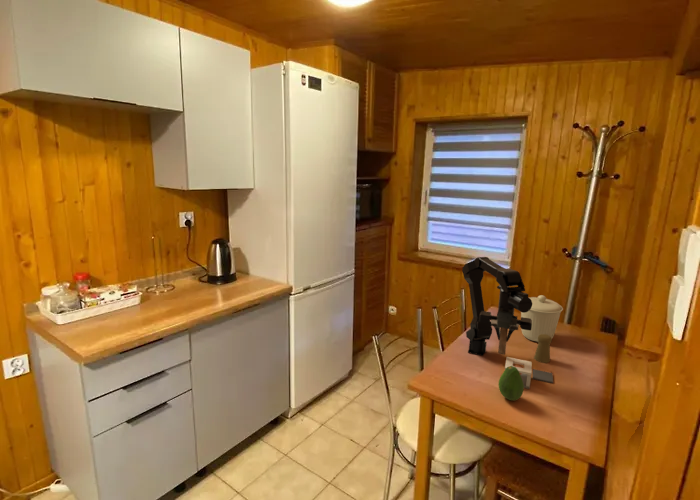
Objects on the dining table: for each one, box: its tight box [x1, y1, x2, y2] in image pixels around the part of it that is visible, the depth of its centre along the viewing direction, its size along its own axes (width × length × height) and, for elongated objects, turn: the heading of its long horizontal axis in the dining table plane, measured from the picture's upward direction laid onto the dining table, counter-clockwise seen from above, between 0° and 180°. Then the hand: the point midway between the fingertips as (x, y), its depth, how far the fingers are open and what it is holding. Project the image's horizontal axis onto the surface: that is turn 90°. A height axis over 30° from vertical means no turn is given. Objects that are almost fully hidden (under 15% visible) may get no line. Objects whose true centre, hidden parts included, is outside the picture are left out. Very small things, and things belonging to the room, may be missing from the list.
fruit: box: [498, 365, 525, 401], centre depth 136 cm, size 8×8×12 cm
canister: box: [520, 294, 564, 343], centre depth 182 cm, size 18×18×21 cm
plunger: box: [513, 364, 524, 375], centre depth 148 cm, size 3×3×2 cm
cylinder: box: [497, 327, 509, 355], centre depth 151 cm, size 3×3×11 cm
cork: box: [533, 334, 553, 364], centre depth 163 cm, size 6×6×11 cm
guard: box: [504, 356, 533, 390], centre depth 148 cm, size 9×9×6 cm
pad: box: [532, 368, 554, 384], centre depth 151 cm, size 7×7×1 cm
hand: (503, 340), depth 152 cm, fingers closed on cylinder, 3 cm apart
